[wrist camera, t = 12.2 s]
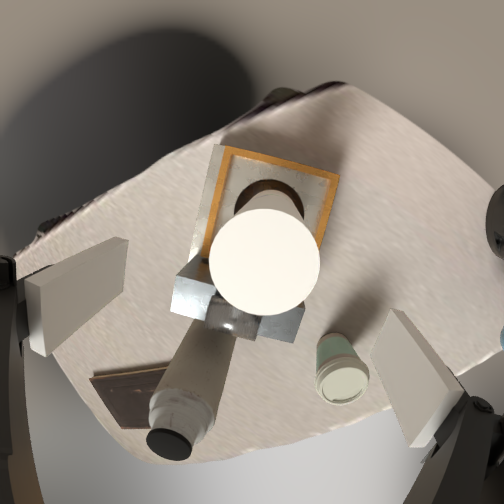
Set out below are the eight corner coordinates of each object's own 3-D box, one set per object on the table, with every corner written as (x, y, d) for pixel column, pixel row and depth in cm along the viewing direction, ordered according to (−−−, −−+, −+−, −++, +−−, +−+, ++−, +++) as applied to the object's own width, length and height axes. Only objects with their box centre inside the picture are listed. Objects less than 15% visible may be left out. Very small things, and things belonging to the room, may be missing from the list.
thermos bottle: (231, 352, 54) (199, 477, 27) (189, 340, 55) (131, 455, 27) (242, 315, 52) (211, 439, 25) (197, 302, 52) (132, 412, 25)
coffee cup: (305, 364, 54) (310, 407, 42) (313, 323, 52) (321, 363, 40) (350, 366, 53) (363, 408, 42) (360, 326, 51) (378, 364, 40)
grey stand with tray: (333, 175, 46) (363, 176, 29) (294, 305, 51) (301, 365, 34) (218, 145, 46) (186, 131, 29) (189, 278, 52) (151, 326, 35)
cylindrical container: (240, 197, 44) (194, 226, 20) (288, 183, 43) (304, 195, 19) (254, 245, 45) (227, 325, 21) (302, 232, 44) (330, 300, 20)
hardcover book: (93, 373, 60) (88, 379, 58) (178, 361, 57) (175, 367, 54) (126, 424, 63) (122, 430, 61) (209, 418, 60) (207, 425, 58)
